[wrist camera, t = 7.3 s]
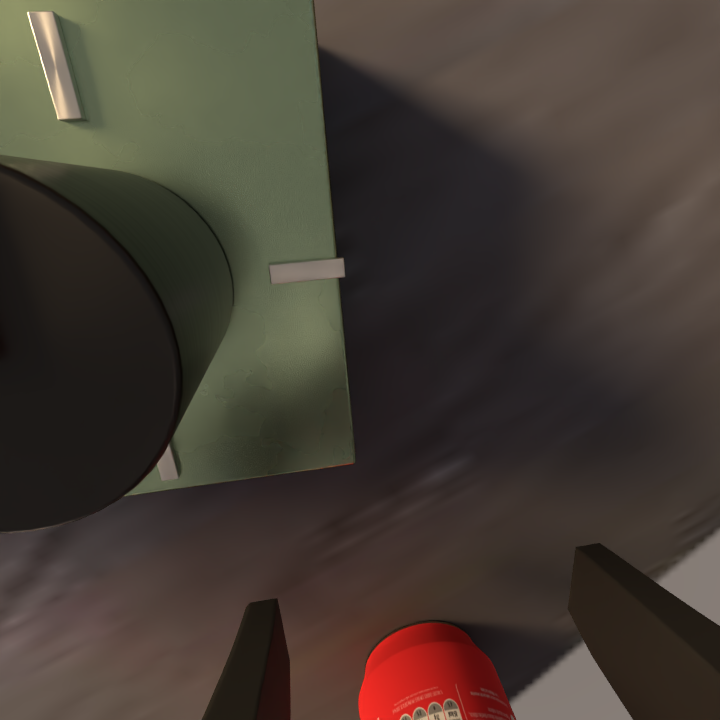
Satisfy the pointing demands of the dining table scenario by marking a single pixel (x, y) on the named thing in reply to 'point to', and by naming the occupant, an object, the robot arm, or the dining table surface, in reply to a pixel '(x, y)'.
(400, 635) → the beverage can
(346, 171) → the dining table surface
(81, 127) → the panel
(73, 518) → the oven knob
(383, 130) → the dining table surface
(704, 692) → the robot arm
